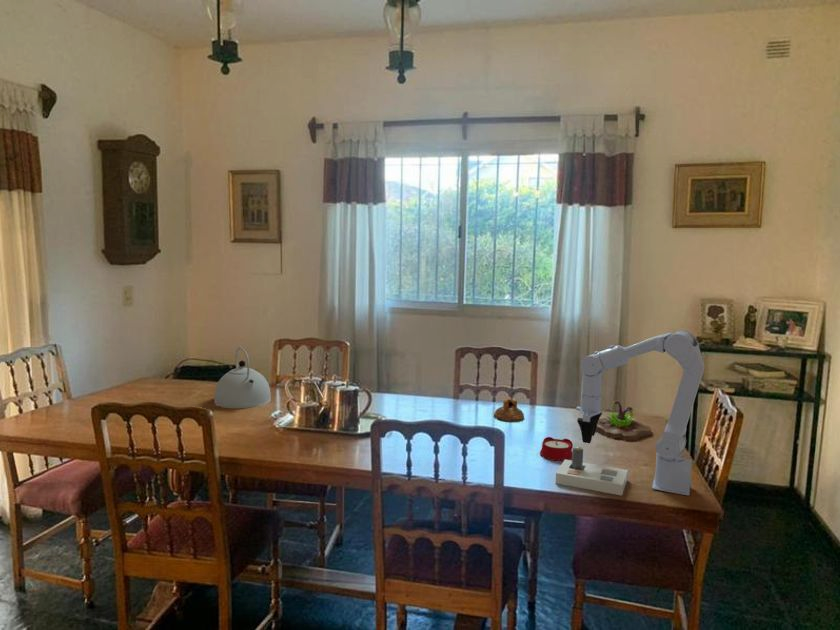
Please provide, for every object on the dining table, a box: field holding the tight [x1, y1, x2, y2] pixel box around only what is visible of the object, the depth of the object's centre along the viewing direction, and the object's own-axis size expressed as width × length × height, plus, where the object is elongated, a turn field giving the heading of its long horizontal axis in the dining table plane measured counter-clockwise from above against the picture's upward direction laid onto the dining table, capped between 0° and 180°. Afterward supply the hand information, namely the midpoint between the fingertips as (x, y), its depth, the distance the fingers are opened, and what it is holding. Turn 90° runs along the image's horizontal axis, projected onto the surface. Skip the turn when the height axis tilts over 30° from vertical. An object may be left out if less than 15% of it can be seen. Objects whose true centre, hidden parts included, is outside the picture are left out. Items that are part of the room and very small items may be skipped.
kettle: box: [213, 346, 272, 409], centre depth 248 cm, size 25×23×22 cm
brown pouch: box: [493, 398, 525, 423], centre depth 233 cm, size 12×12×7 cm
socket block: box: [555, 459, 629, 496], centre depth 171 cm, size 18×12×3 cm, turn 65°
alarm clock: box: [539, 436, 574, 462], centre depth 194 cm, size 10×6×15 cm
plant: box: [595, 400, 652, 441], centre depth 218 cm, size 20×20×11 cm
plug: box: [571, 445, 584, 470], centre depth 174 cm, size 3×3×9 cm
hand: (588, 438), depth 180 cm, fingers open, 7 cm apart
